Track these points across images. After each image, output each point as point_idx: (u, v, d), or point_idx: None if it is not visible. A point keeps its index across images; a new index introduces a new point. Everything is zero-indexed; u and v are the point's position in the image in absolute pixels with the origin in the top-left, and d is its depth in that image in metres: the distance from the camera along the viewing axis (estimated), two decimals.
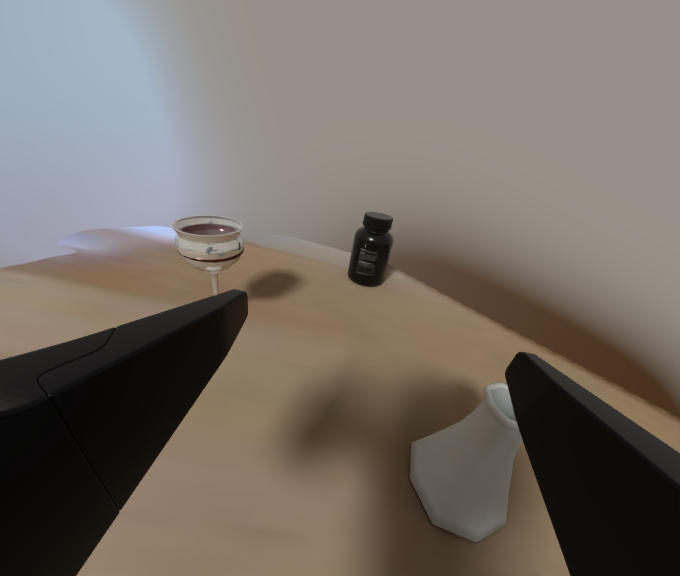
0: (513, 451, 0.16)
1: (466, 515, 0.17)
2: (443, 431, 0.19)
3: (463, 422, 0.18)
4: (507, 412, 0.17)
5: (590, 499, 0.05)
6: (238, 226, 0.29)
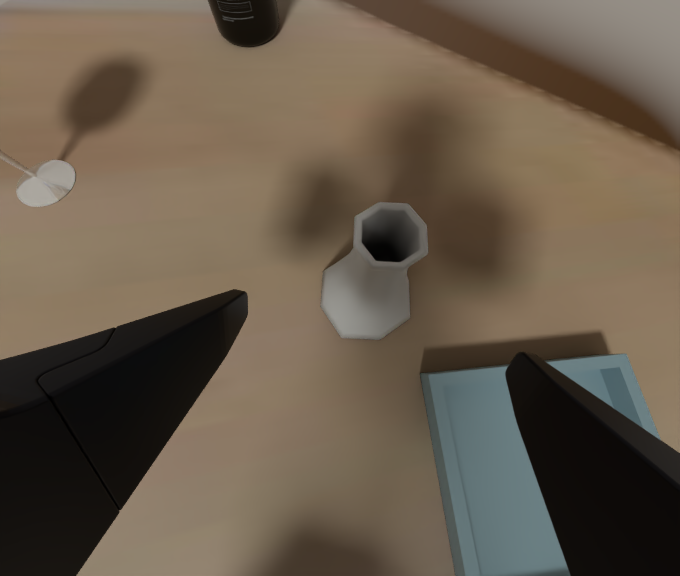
0: (398, 279, 0.13)
1: (367, 328, 0.17)
2: (339, 263, 0.16)
3: (350, 256, 0.14)
4: (397, 234, 0.13)
5: (590, 499, 0.05)
6: None
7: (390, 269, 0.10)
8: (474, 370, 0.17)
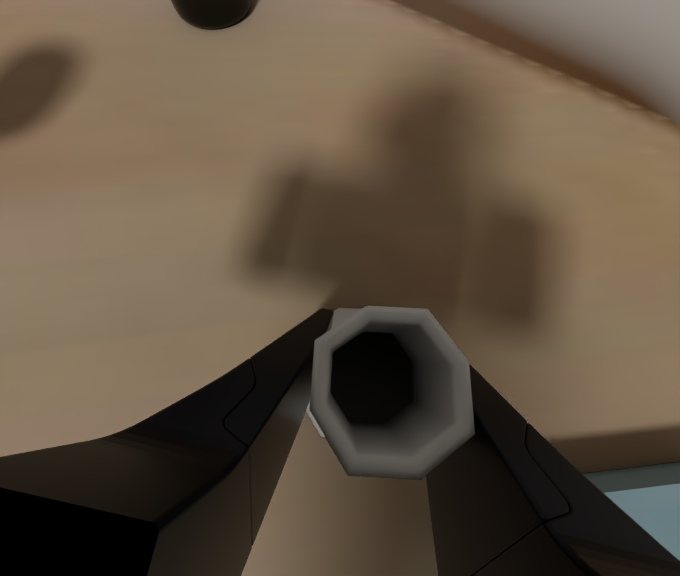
0: (405, 415, 0.07)
1: None
2: None
3: None
4: (403, 339, 0.07)
5: (449, 465, 0.05)
6: None
7: (389, 476, 0.05)
8: None
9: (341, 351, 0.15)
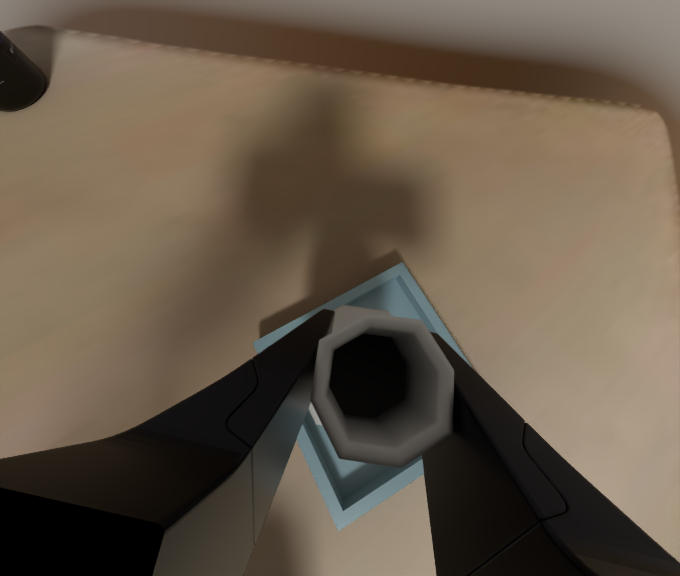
0: (395, 412, 0.08)
1: None
2: None
3: None
4: (399, 344, 0.08)
5: (447, 464, 0.05)
6: None
7: (375, 463, 0.05)
8: (289, 323, 0.20)
9: (342, 346, 0.15)
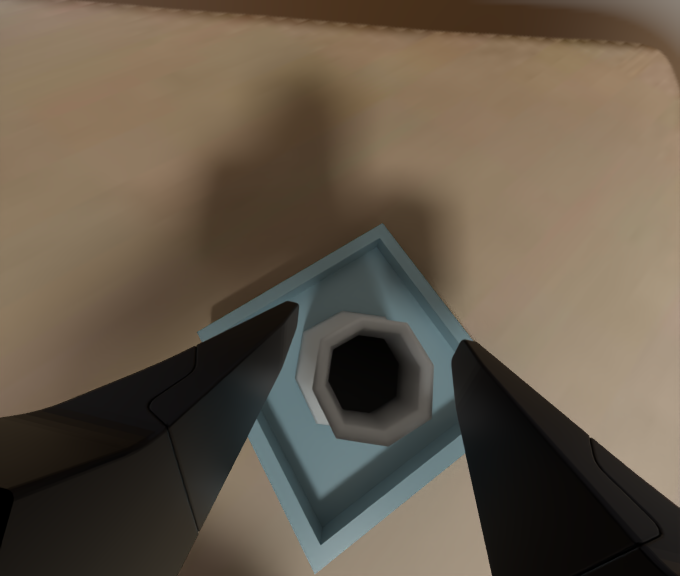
0: (387, 406, 0.09)
1: None
2: (315, 344, 0.12)
3: None
4: (390, 344, 0.09)
5: (504, 478, 0.05)
6: None
7: (366, 442, 0.06)
8: (244, 305, 0.16)
9: (341, 349, 0.16)
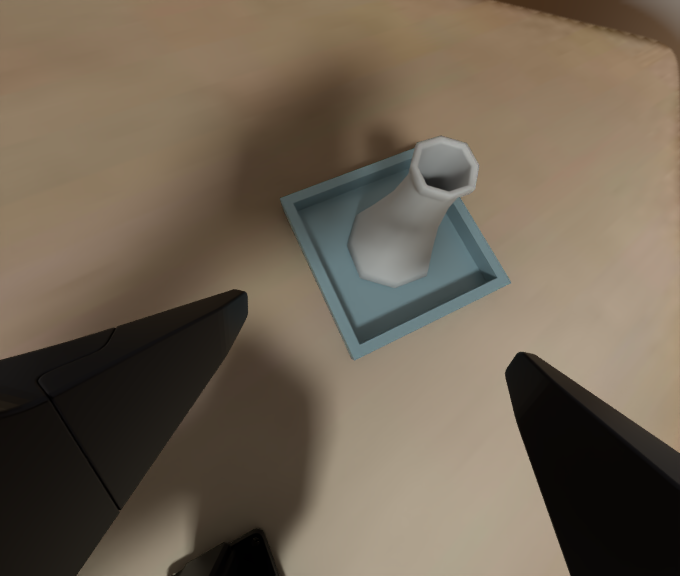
0: (435, 220, 0.14)
1: (387, 271, 0.19)
2: (378, 203, 0.17)
3: (394, 192, 0.15)
4: (445, 177, 0.14)
5: (590, 499, 0.05)
6: None
7: (438, 195, 0.11)
8: (316, 185, 0.21)
9: None
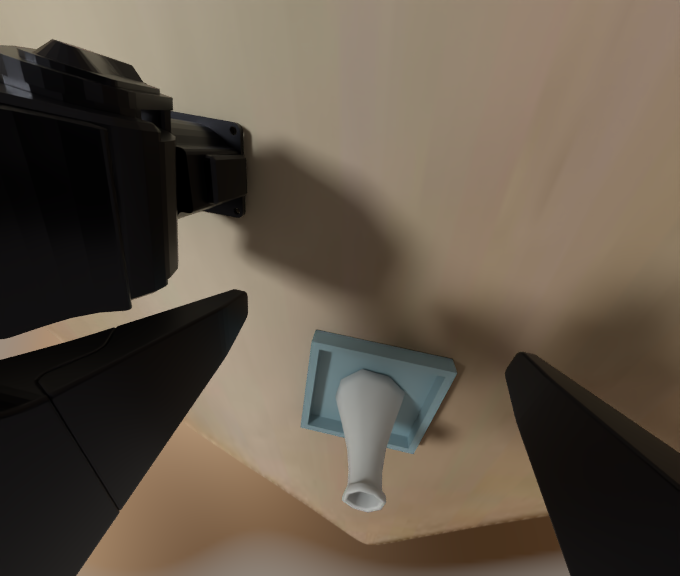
0: (349, 458, 0.22)
1: (351, 391, 0.26)
2: (391, 428, 0.24)
3: (383, 450, 0.22)
4: None
5: (590, 499, 0.05)
6: None
7: (351, 490, 0.19)
8: (444, 395, 0.25)
9: None
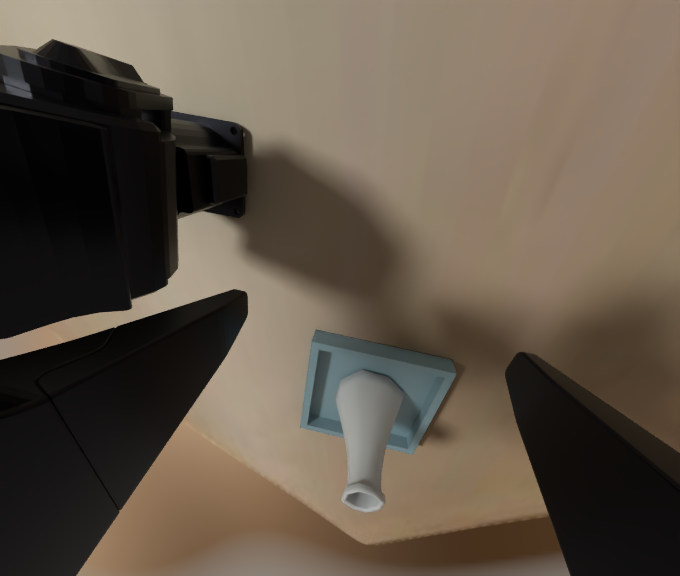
0: (348, 458, 0.22)
1: (350, 391, 0.26)
2: (390, 428, 0.24)
3: (382, 451, 0.22)
4: None
5: (590, 499, 0.05)
6: None
7: (350, 490, 0.19)
8: (444, 395, 0.25)
9: None
